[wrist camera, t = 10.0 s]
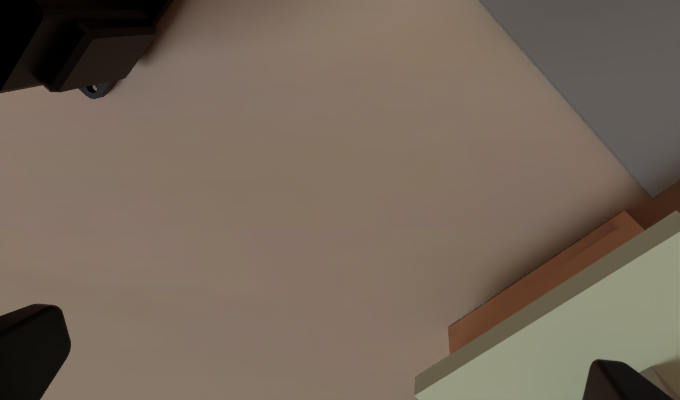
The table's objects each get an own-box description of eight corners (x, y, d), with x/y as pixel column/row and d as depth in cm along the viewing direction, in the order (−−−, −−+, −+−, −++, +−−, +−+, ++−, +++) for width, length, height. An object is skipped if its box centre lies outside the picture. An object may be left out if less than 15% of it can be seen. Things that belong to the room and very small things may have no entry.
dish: (447, 327, 22) (451, 382, 19) (624, 210, 18) (666, 251, 15) (569, 446, 23) (592, 515, 20) (754, 356, 20) (818, 423, 17)
